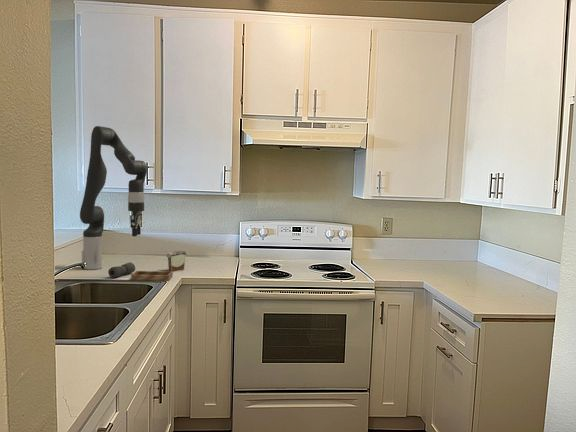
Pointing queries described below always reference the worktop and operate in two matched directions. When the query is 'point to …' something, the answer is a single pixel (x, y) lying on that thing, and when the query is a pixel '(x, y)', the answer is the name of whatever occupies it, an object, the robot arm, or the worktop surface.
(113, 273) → the flashlight
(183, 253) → the food container
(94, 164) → the robot arm
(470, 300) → the worktop surface
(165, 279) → the open wooden frame
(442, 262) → the worktop surface
